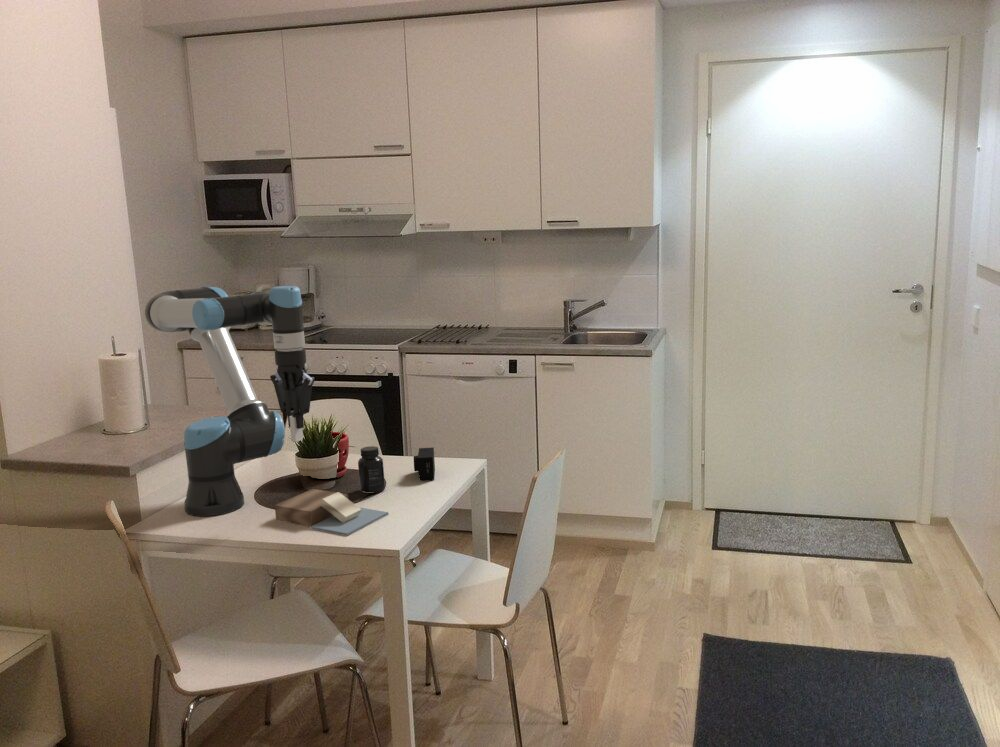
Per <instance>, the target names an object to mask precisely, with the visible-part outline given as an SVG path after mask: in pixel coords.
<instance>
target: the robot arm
mask: <svg viewBox="0 0 1000 747" xmlns="http://www.w3.org/2000/svg"><path fill="white" fill-rule="evenodd" d="M302 299H303V298H302V295H301V289H300V287H298V286H297V285H279V286H278V285H277V286H273V287H271V288H270V289H269V292H268V291H264V290H263V291H255V292H251V293H249V294H241V295H240V294H239V295H233V296H232V295H231V296H230V295H228V293H227V292H226V291H224V289H223V288H220V287H217V286H202V287H195V288H189V289H188V288H187V289H178V290H167V291H163V292H160V293H157V294H156V295H154V296H153V297H151V298H150V299H149V300H148V302H147V303H146V305H145V309H144V316H145V320H146V322H147V323H148V325H149V326H150V327H151V328H153V329H154V330H157V331H159V332H164V333H177V332H179V333H181V332H187V331H188V334H189V336H190V338H191V339H192V341H195V342H198V343H199V345H200V347H201V350H202V352H203V355H204V358H205V359H206V362H207V364H208V366H209V369H210V371H211V374H212V376H213V379H214V381H215V383H216V386H217V388H218V390H219V393H220V395H221V398H222V400H223V402H224V405H225V407H226V410H227V412H228V413H227V415H226V416H222V415H221V416H220V415H219V416H217V415H216V416H212V417H207V418H203V419H199V420H197V421H195V422H191V424H189V425H188V426H187V427H186V428H185V429H184V432H183V436H184V440H183V441H184V443H183V447H184V451H185V459H186V470H187V475H188V476H187V477H188V478H187V479H188V484H187V485H188V486H187V488H186V489H187V490H186V496H185V499H184V502H183V504H184V512H185V513H186V514H188V515H190V516H195V517H211V516H219V515H223V514H227V513H230V512H233V511H236V510H238V509H240V508H241V507H244V505H245V498H244V496H245V495H244V493H243V491H242V488H241V487H240V485H239V482H238V480H237V478H236V474H235V465H236V464H239V463H244V462H248V461H252V460H255V459H260V458H267V457H268V456H271V455H274V454H277V453H278V452H280V451H281V450H282V448H283V446H284V444H285V439H286V438H285V437H286V429H285V423H284V419H283V417H282V416H281V414H280V412H281V413H282V414H283V413H285V414H286V416H287V423H288V424H287V425H288V428H290V440H291V442H293V443H297V442H300V441H303V438H304V433H303V428H304V426H305V425H304V423H305V422H304V415H306V414H308V413H310V408H311V398H312V392H313V391H312V390H313V385H314V383H315V380H316V379H315V378H316V377H314V376H310V375H308V372H307V369H306V367H305V366H306V362H307V355H306V354H307V351H306V349H305V348H304V347H306V342H305V329H304V315H303V300H302ZM263 323H269V324H270V323H271V325H272V326H271V327H272V335H273V336H272V338H273V347H274V349H275V351H274V359H275V360H274V362H275V365H276V366H277V369H276V373H274V374H271V375H270V380H271V381H272V385H273V387H274V391H275V394H276V399H277V402H278V405H279V410H280V412H279V413H278V411H276V410H271V411H270V410H269V408H268V404H267V403H266V402H264V401H261V400H259V399H258V397H257V394H256V391H255V389H254V386H253V385H252V382H251V379H250V378H249V375H248V373H247V371H246V368H245V365H244V364H243V362H242V359H241V357H240V355H239V352H238V349H237V347H236V345H235V343H234V340H233V338H232V336H231V333H230V329H231V328H232V327H237V326H239V327H240V326H249V325H254V324H256V325H257V324H263Z"/></svg>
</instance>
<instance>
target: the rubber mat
mask: <svg viewBox="0 0 1000 747" xmlns="http://www.w3.org/2000/svg"><path fill="white" fill-rule="evenodd" d="M358 507H359V506H358ZM359 508H360V509H361V512H360V515H359V516H357V517H355V518H353V519H351V520H349V521H347V522H345V523H342V522H341V521H340V520H339V519H337V518H336V517H335V516H331V517H329V518H327V519H325V520H323V521H321V522H319V523H317V524H315V525H313V526H311V527H310V529H311V530H316V531H321V532H325V533H326V532H327V533H331V534H337V535H340V536H341V535H342V536H346V537H348V536H350V535H352V534H355V533H356V532H358V531H360V530H362V529H363V528H365V527H368V526H369V525H371V524H373V523H375V522H377V521H379V520H381V519H383V518H385V517H386V516H388V515H389V511H383V510H377V509H372V508H365V507H359Z"/></svg>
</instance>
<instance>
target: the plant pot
mask: <svg viewBox="0 0 1000 747" xmlns="http://www.w3.org/2000/svg"><path fill="white" fill-rule="evenodd" d="M331 432H332V436H333V438H335V437H336V436H337V435H339V434H340V433H343V434H342V437H341V439H340V441H339V443H338V449H339V462H338V469H337V478H340V477H342V476H344V475H345V474H346V472H347V469H348V467H347V465H346V464H347V461H348V459H349V458H348V457H349V450H350V448H349V447H350V446H349V445H350V440H349V438H350V437H349V435H348V434H347V433H344V432H340V431H331Z"/></svg>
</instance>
